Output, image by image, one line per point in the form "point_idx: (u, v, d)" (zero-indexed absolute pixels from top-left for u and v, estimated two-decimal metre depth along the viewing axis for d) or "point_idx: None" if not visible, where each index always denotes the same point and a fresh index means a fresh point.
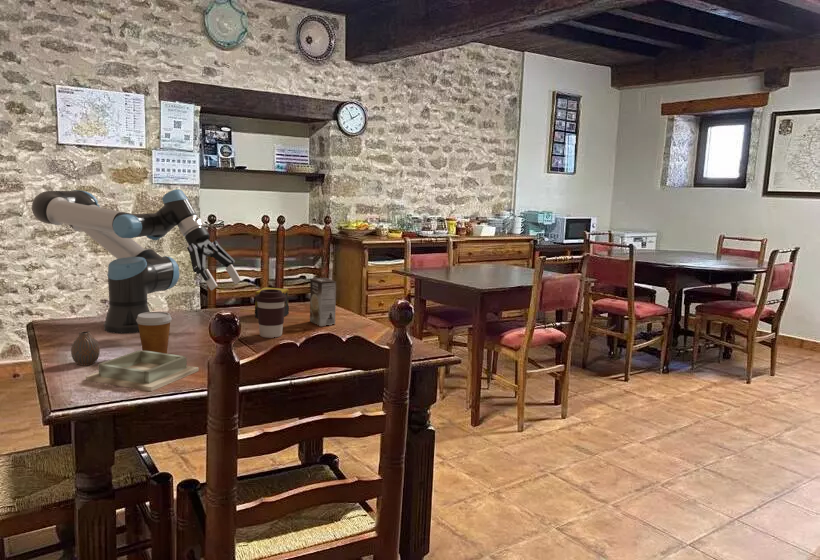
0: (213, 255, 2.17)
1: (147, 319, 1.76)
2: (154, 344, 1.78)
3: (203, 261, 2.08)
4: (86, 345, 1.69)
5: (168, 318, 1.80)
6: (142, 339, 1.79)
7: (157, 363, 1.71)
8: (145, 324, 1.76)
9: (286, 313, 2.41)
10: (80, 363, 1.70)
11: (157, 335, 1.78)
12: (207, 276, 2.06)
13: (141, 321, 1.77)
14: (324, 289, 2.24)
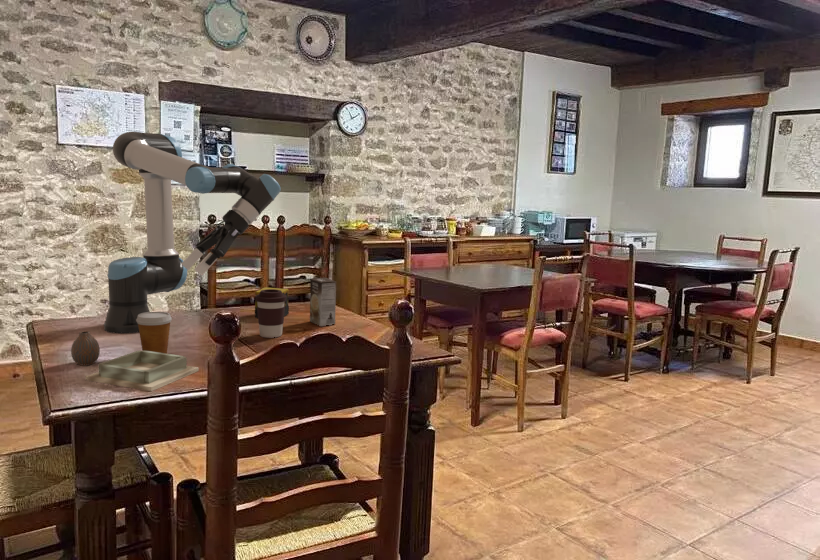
0: (214, 238, 1.91)
1: (147, 319, 1.76)
2: (154, 344, 1.78)
3: None
4: (86, 345, 1.69)
5: (168, 318, 1.80)
6: (142, 339, 1.79)
7: (157, 363, 1.71)
8: (145, 324, 1.76)
9: (286, 313, 2.41)
10: (80, 363, 1.70)
11: (157, 335, 1.78)
12: None
13: (141, 321, 1.77)
14: (324, 289, 2.24)
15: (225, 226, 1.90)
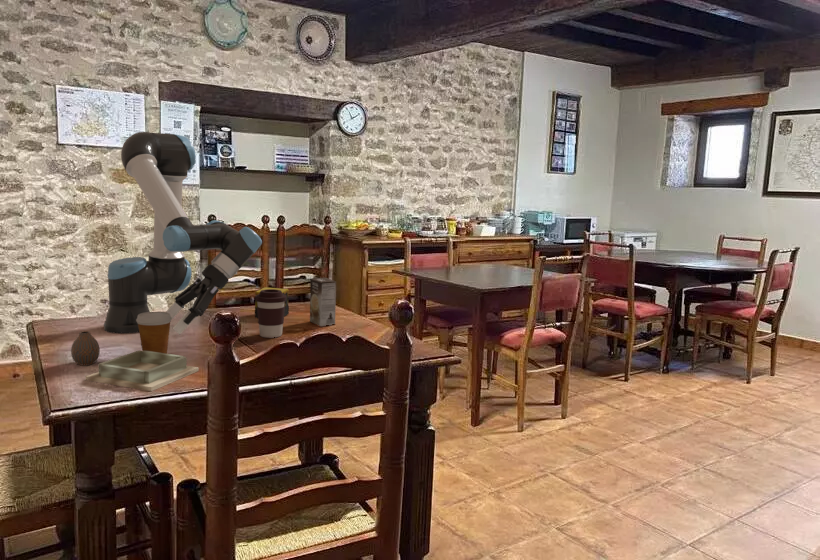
0: (193, 293, 1.88)
1: (147, 319, 1.76)
2: (154, 344, 1.78)
3: None
4: (86, 345, 1.69)
5: (168, 318, 1.80)
6: (142, 339, 1.79)
7: (157, 363, 1.71)
8: (145, 324, 1.76)
9: (286, 313, 2.41)
10: (80, 363, 1.70)
11: (157, 335, 1.78)
12: None
13: (141, 321, 1.77)
14: (324, 289, 2.24)
15: (204, 281, 1.87)
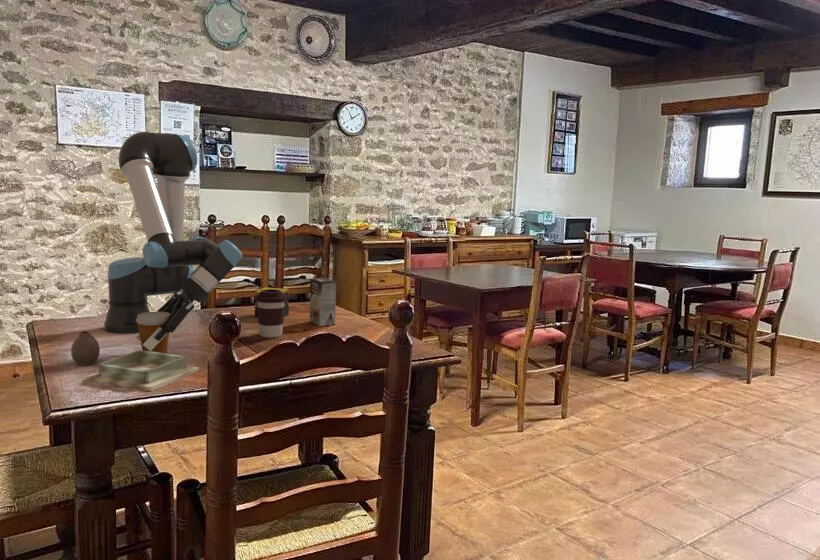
0: (171, 307, 1.85)
1: (147, 319, 1.76)
2: None
3: None
4: (86, 345, 1.69)
5: None
6: (142, 339, 1.79)
7: (157, 363, 1.71)
8: (145, 324, 1.76)
9: (286, 313, 2.41)
10: (80, 363, 1.70)
11: None
12: None
13: (141, 321, 1.77)
14: (324, 289, 2.24)
15: (184, 293, 1.85)
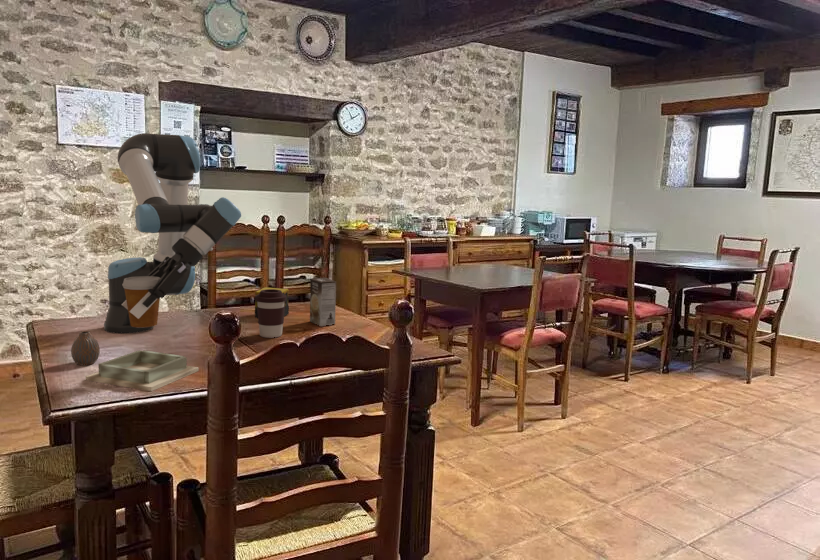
0: (162, 272, 1.66)
1: (134, 283, 1.57)
2: None
3: None
4: (86, 345, 1.69)
5: None
6: (129, 306, 1.59)
7: (157, 363, 1.71)
8: (132, 288, 1.57)
9: (286, 313, 2.41)
10: (80, 363, 1.70)
11: None
12: None
13: (128, 285, 1.57)
14: (324, 289, 2.24)
15: (176, 255, 1.66)
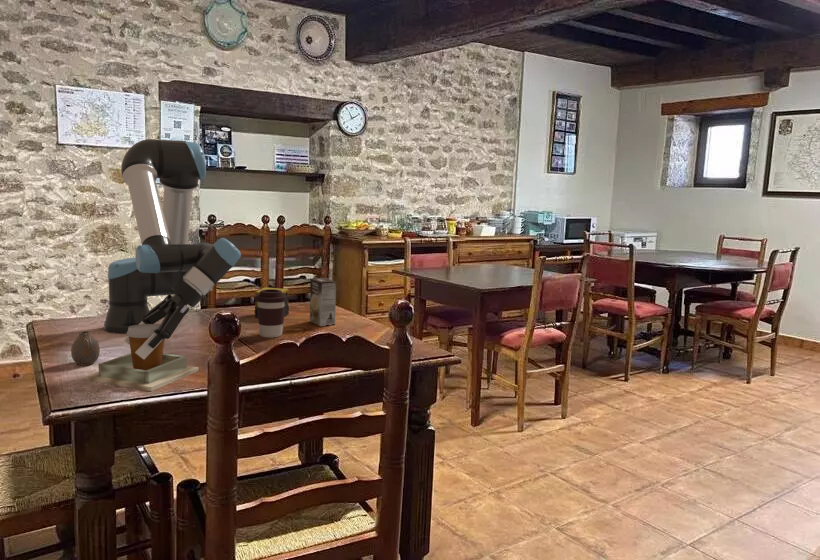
0: (162, 311, 1.68)
1: (139, 331, 1.57)
2: (146, 359, 1.59)
3: None
4: (86, 345, 1.69)
5: None
6: (133, 354, 1.59)
7: None
8: (137, 336, 1.57)
9: (286, 313, 2.41)
10: (80, 363, 1.70)
11: None
12: None
13: (132, 333, 1.57)
14: (324, 289, 2.24)
15: (175, 298, 1.67)
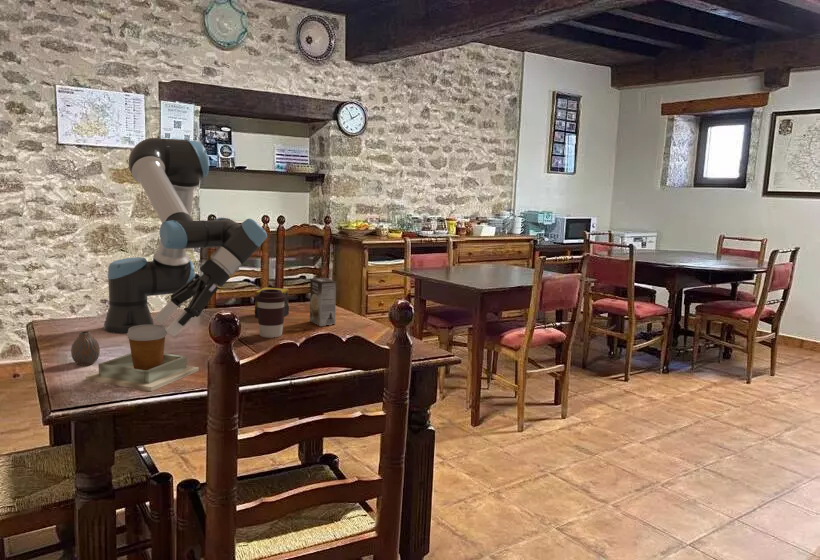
0: (190, 290, 1.70)
1: (140, 334, 1.56)
2: (148, 361, 1.59)
3: None
4: (86, 345, 1.69)
5: (163, 332, 1.60)
6: (134, 356, 1.58)
7: None
8: (138, 339, 1.56)
9: (286, 313, 2.41)
10: (80, 363, 1.70)
11: (152, 351, 1.58)
12: None
13: (133, 336, 1.56)
14: (324, 289, 2.24)
15: (203, 277, 1.69)
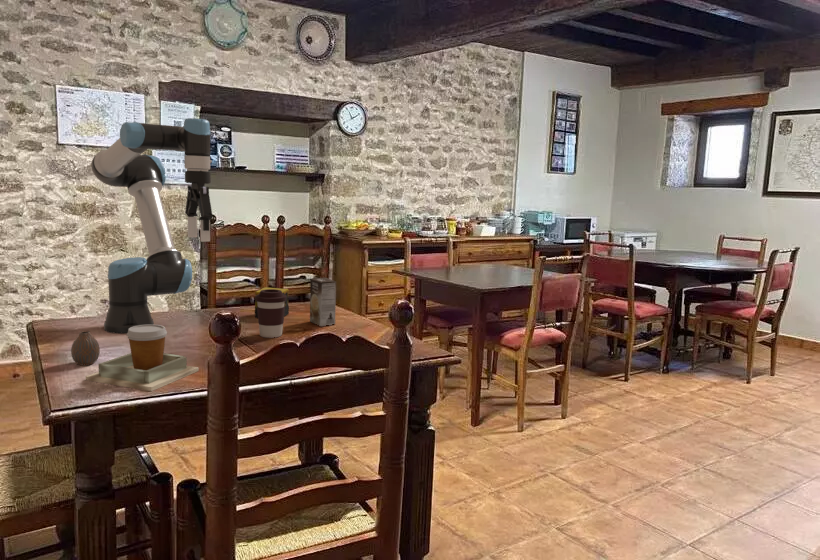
0: (193, 201, 1.99)
1: (140, 334, 1.56)
2: (148, 361, 1.59)
3: None
4: (86, 345, 1.69)
5: (163, 332, 1.60)
6: (134, 356, 1.58)
7: None
8: (138, 339, 1.56)
9: (286, 313, 2.41)
10: (80, 363, 1.70)
11: (152, 351, 1.58)
12: (208, 227, 1.92)
13: (133, 336, 1.56)
14: (324, 289, 2.24)
15: (193, 186, 1.96)
